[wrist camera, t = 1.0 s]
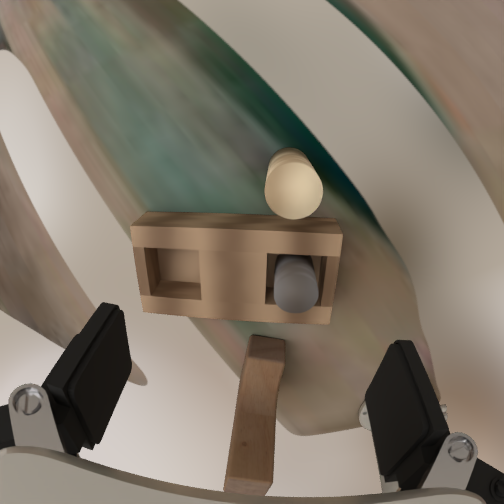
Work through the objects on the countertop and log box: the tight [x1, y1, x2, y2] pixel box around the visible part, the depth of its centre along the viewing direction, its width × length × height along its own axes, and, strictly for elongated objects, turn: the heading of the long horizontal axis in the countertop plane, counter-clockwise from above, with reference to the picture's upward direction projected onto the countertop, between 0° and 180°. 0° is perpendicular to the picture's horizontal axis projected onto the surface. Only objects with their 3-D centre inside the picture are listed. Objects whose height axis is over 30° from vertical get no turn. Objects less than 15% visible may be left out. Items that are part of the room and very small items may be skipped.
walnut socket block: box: [130, 212, 343, 324], centre depth 32 cm, size 20×10×7 cm, turn 89°
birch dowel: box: [265, 147, 323, 219], centre depth 26 cm, size 4×4×10 cm
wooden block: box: [223, 335, 285, 496], centre depth 33 cm, size 9×4×18 cm, turn 170°
